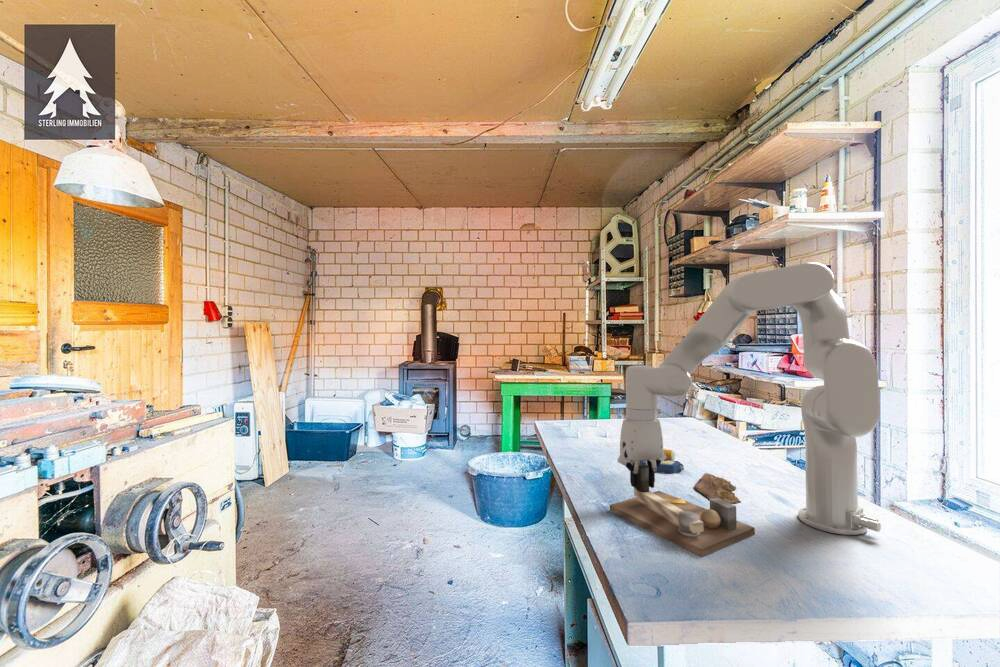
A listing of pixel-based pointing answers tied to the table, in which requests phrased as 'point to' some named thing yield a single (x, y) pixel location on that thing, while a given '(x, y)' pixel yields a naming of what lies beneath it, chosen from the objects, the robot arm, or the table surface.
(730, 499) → the wooden fragment
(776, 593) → the table surface
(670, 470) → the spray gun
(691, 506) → the press board
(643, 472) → the lever
